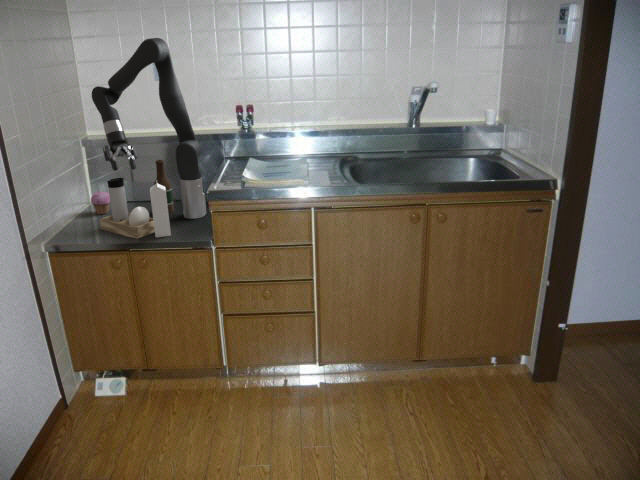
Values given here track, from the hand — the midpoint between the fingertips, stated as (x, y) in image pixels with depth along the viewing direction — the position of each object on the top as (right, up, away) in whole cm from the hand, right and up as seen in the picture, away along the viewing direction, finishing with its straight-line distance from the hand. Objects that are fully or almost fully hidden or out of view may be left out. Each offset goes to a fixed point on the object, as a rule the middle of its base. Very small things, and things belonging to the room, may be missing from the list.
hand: (125, 169), depth 230 cm
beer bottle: (+12, -17, +18) cm, 27 cm away
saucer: (+9, -25, -7) cm, 28 cm away
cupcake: (-16, -18, +18) cm, 30 cm away
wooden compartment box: (+4, -25, -4) cm, 26 cm away
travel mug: (-1, -23, -1) cm, 23 cm away
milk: (+19, -27, -9) cm, 35 cm away
